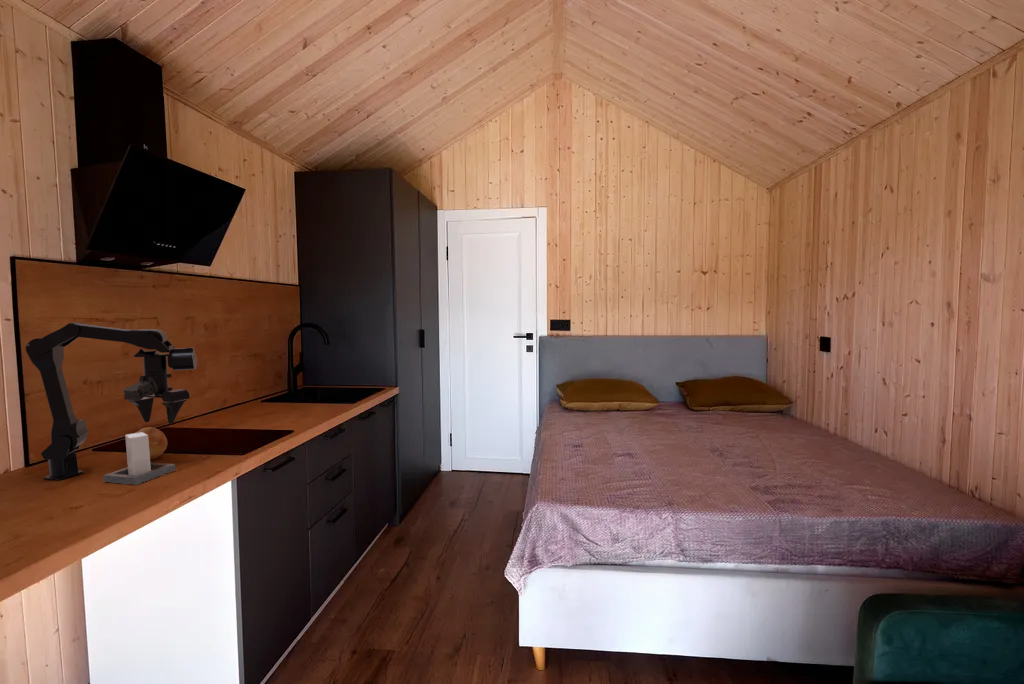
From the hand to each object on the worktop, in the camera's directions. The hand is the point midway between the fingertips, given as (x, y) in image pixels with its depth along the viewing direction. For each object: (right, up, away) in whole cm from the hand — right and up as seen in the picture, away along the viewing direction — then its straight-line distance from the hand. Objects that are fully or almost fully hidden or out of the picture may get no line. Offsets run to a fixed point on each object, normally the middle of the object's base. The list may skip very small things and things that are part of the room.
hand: (158, 422), depth 147 cm
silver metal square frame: (+2, -13, -10) cm, 17 cm away
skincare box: (+2, -14, -10) cm, 17 cm away
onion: (-7, -13, +6) cm, 16 cm away
